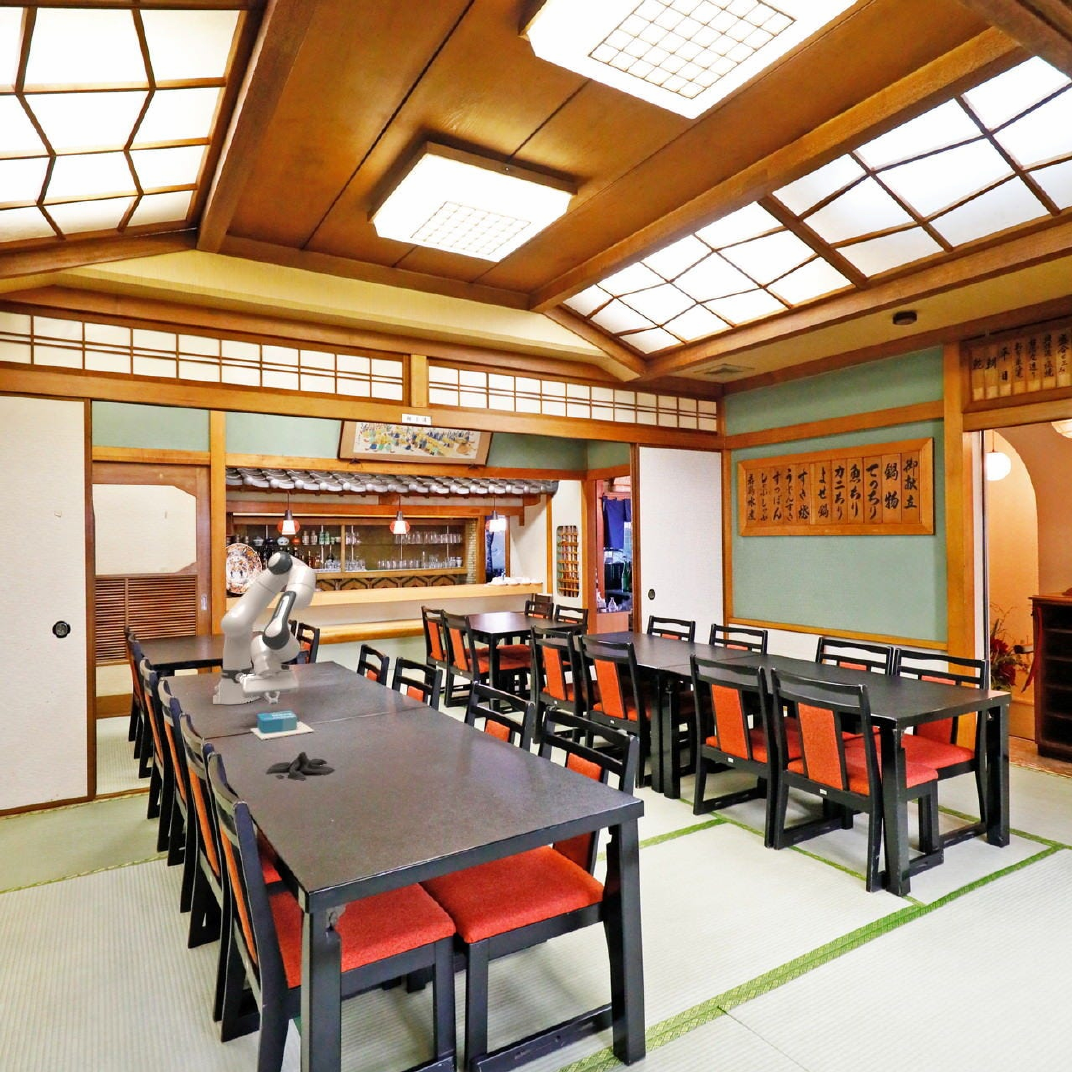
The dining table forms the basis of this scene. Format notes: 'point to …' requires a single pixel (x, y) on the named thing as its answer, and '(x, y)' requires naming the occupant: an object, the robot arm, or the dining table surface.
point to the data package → (277, 721)
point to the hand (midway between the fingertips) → (273, 703)
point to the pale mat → (282, 732)
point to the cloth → (300, 768)
